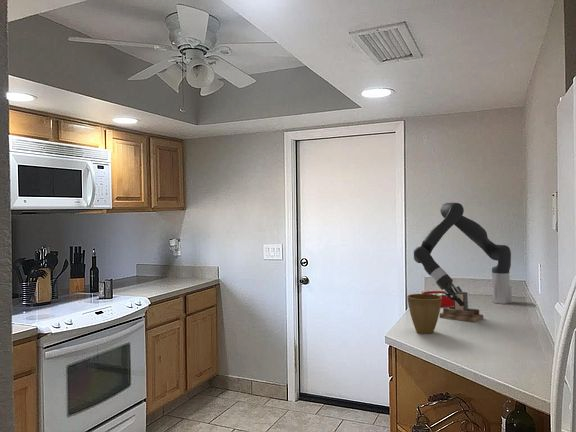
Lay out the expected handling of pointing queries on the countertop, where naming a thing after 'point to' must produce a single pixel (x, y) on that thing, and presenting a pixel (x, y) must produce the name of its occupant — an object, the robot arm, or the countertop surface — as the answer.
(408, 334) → the countertop surface
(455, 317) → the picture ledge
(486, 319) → the countertop surface
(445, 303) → the toy clock
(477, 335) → the countertop surface
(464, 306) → the dark grey cuboid
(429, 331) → the plant pot
